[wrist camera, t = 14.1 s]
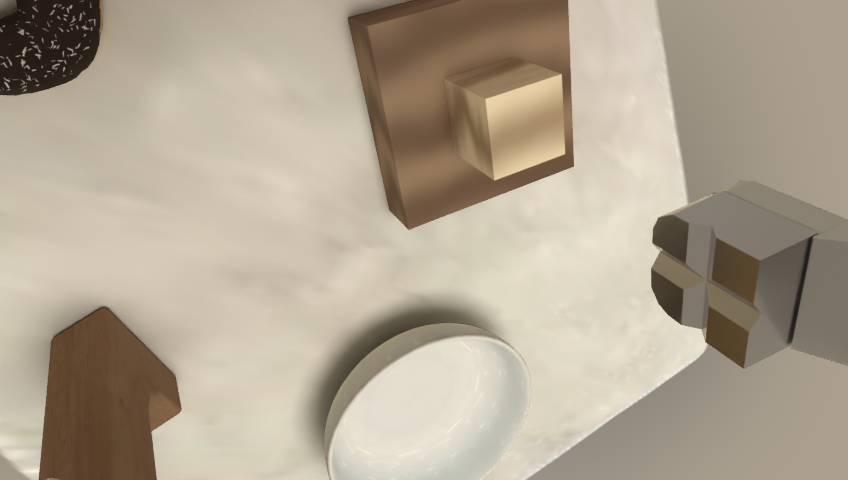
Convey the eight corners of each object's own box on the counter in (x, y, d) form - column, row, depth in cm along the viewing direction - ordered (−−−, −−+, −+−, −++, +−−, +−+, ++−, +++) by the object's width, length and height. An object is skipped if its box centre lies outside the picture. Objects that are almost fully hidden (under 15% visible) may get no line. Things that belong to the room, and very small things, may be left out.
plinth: (347, 17, 45) (367, 26, 42) (536, -33, 50) (566, -29, 46) (389, 210, 53) (408, 229, 50) (547, 152, 58) (573, 166, 55)
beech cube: (444, 78, 46) (485, 99, 41) (514, 57, 48) (561, 74, 43) (455, 153, 49) (494, 180, 44) (520, 130, 51) (565, 154, 46)
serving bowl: (436, 476, 71) (465, 523, 66) (269, 456, 60) (287, 512, 54) (530, 324, 67) (569, 362, 62) (371, 271, 55) (402, 311, 50)
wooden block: (177, 376, 52) (211, 559, 37) (128, 408, 51) (143, 606, 37) (105, 303, 46) (111, 482, 32) (49, 337, 46) (29, 536, 31)
